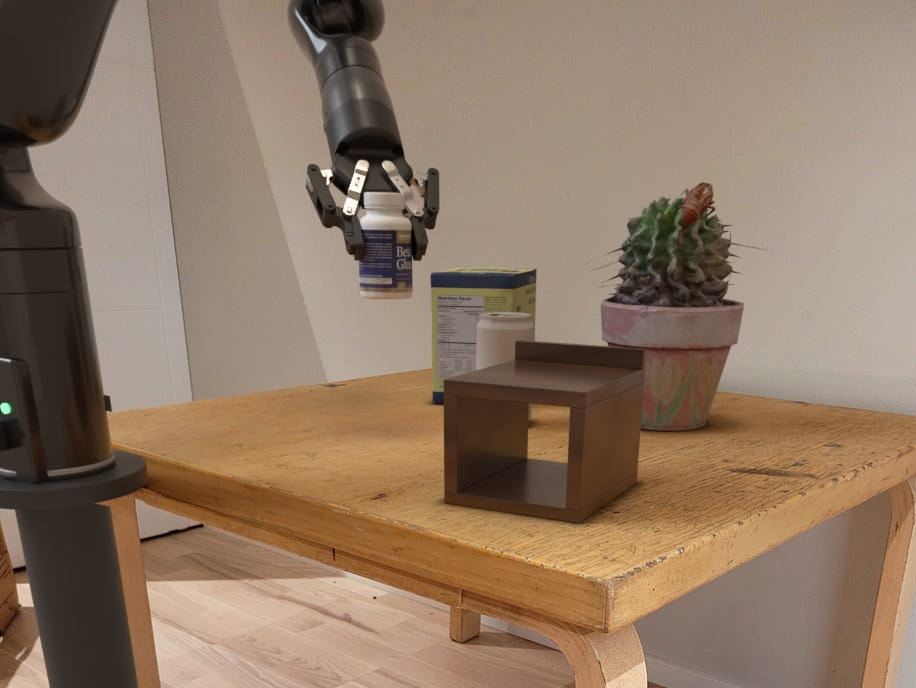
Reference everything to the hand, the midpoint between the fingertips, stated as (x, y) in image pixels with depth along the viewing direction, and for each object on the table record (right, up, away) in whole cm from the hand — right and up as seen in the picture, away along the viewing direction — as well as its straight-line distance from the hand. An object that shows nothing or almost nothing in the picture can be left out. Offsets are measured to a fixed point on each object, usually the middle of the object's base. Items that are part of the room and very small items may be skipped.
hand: (389, 254), depth 95 cm
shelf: (+14, -25, -12) cm, 32 cm away
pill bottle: (-1, -3, +3) cm, 5 cm away
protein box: (+10, -6, +31) cm, 33 cm away
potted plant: (+30, -13, +17) cm, 36 cm away
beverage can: (+12, -14, +15) cm, 23 cm away
